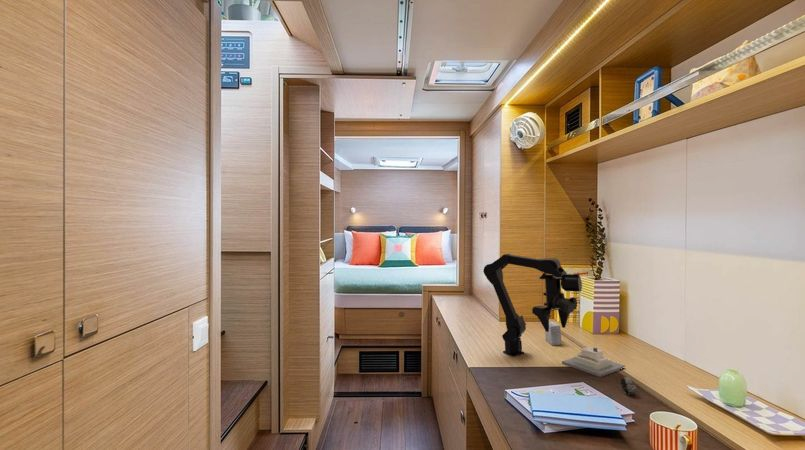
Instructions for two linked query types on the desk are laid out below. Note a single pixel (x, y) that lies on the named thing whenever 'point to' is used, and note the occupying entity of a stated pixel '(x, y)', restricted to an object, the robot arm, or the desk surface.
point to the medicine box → (554, 334)
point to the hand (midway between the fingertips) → (555, 329)
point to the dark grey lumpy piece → (631, 387)
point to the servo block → (592, 355)
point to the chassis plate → (593, 366)
